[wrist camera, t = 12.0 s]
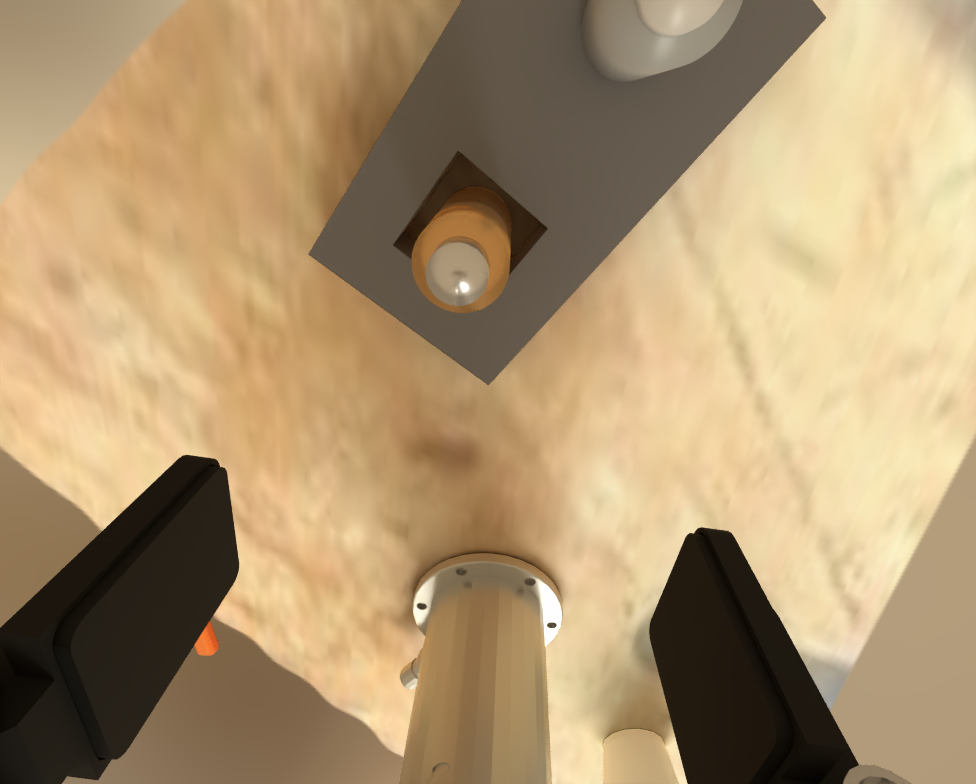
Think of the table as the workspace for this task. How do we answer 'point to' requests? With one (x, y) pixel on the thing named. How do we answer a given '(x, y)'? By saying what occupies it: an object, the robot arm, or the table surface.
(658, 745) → the foam cup
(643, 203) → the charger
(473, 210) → the amber bottle
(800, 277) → the table surface
